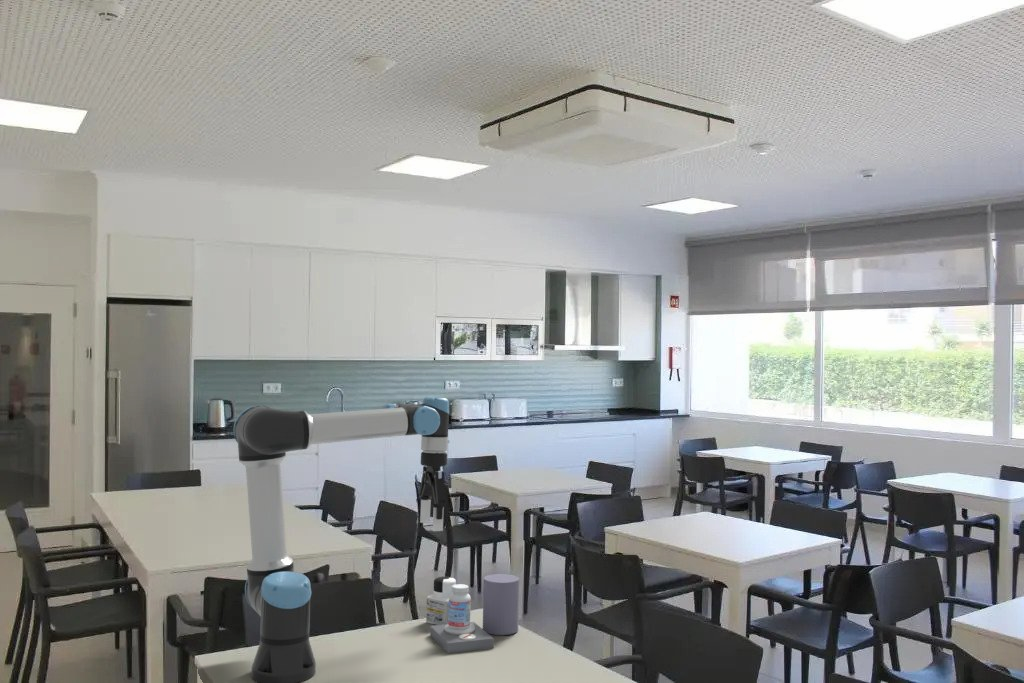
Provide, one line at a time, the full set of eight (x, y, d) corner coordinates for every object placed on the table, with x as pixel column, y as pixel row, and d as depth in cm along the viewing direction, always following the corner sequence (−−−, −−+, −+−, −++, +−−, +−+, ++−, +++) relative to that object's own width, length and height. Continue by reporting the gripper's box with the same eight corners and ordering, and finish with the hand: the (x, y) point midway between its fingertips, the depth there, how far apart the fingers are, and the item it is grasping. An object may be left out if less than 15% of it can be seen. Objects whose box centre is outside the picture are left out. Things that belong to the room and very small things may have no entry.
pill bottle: (444, 628, 234) (445, 587, 235) (453, 622, 240) (454, 582, 240) (464, 631, 232) (465, 589, 232) (473, 625, 238) (474, 584, 238)
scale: (447, 653, 225) (447, 639, 225) (430, 635, 239) (430, 622, 240) (493, 648, 229) (493, 634, 230) (473, 630, 244) (473, 618, 244)
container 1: (425, 622, 251) (426, 578, 252) (442, 616, 258) (443, 573, 258) (445, 627, 247) (446, 582, 247) (462, 621, 253) (463, 577, 254)
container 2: (490, 623, 252) (491, 572, 252) (523, 628, 248) (524, 576, 249) (476, 633, 242) (478, 580, 243) (510, 638, 239) (511, 584, 239)
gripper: (459, 455, 232) (456, 534, 231) (435, 447, 255) (432, 518, 254) (433, 455, 229) (430, 535, 228) (410, 447, 252) (407, 519, 251)
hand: (431, 526), depth 241 cm, fingers open, 13 cm apart
